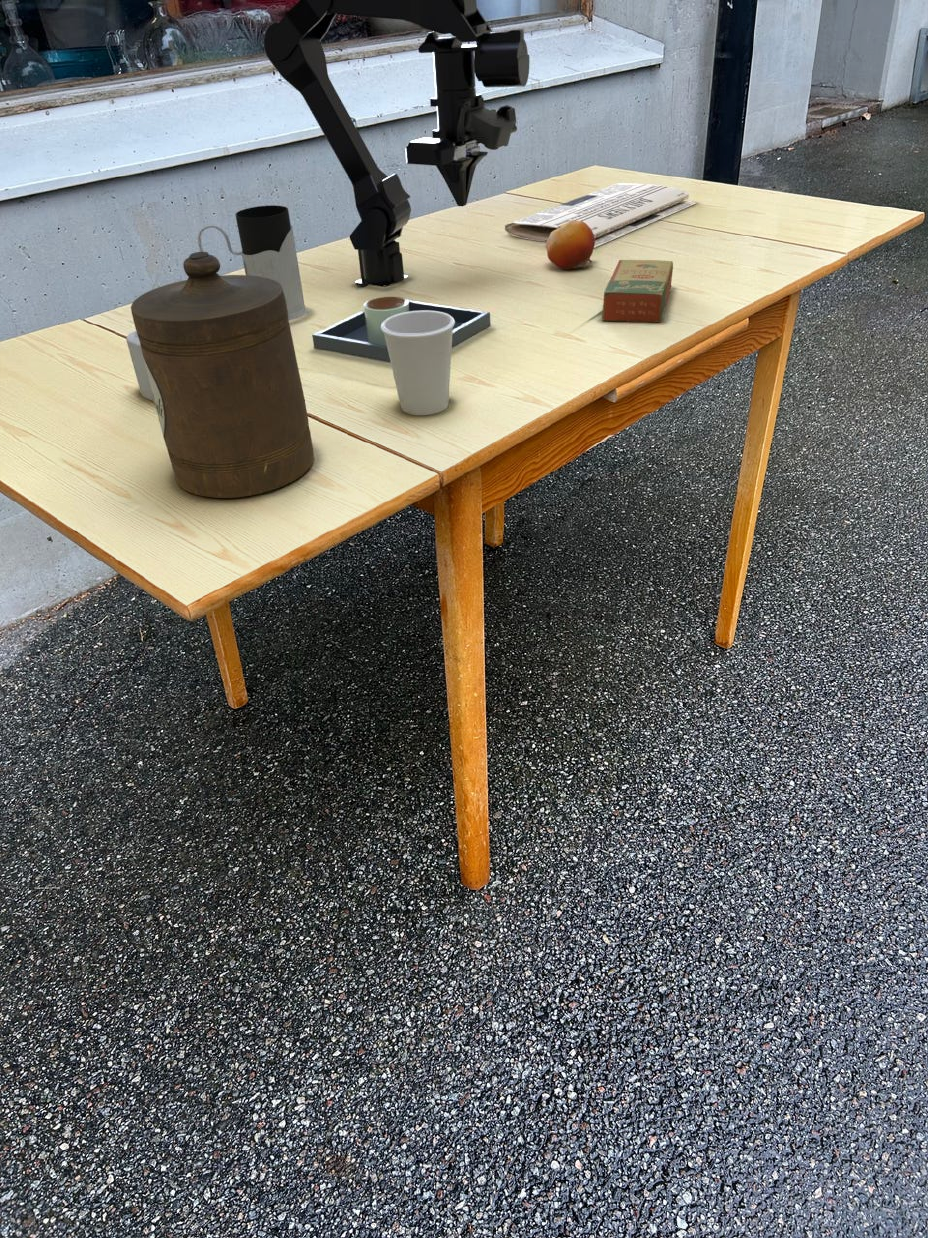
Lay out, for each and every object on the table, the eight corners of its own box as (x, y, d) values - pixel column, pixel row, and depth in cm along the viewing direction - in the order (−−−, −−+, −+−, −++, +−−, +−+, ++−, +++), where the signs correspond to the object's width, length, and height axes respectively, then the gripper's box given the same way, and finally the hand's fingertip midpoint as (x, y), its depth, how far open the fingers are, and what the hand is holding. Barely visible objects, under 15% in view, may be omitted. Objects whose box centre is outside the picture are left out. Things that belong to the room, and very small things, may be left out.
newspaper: (612, 194, 194) (612, 180, 193) (696, 203, 184) (697, 188, 182) (505, 235, 172) (504, 219, 170) (593, 248, 162) (593, 231, 160)
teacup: (359, 347, 126) (354, 306, 123) (386, 333, 130) (381, 293, 127) (400, 354, 123) (395, 312, 120) (425, 339, 127) (422, 299, 124)
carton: (672, 288, 141) (674, 259, 138) (661, 323, 129) (663, 292, 126) (617, 286, 143) (618, 257, 140) (601, 321, 131) (602, 290, 128)
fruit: (603, 263, 149) (578, 218, 146) (561, 288, 152) (536, 245, 149) (607, 249, 155) (583, 205, 152) (567, 274, 159) (542, 232, 156)
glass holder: (307, 323, 137) (289, 215, 129) (211, 331, 137) (187, 224, 128) (310, 305, 144) (294, 202, 136) (219, 312, 144) (197, 209, 135)
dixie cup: (404, 425, 106) (395, 339, 100) (380, 400, 112) (370, 318, 106) (471, 410, 108) (466, 325, 102) (443, 386, 115) (437, 305, 109)
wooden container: (218, 432, 107) (171, 232, 94) (335, 441, 103) (304, 234, 90) (147, 493, 96) (84, 275, 83) (277, 506, 92) (231, 279, 79)
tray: (314, 351, 127) (311, 334, 126) (391, 313, 139) (389, 297, 138) (418, 371, 119) (416, 353, 118) (491, 329, 131) (490, 312, 129)
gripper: (465, 99, 122) (471, 224, 131) (538, 80, 134) (539, 196, 143) (398, 97, 127) (408, 218, 136) (474, 79, 139) (479, 191, 149)
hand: (462, 205), depth 141 cm, fingers closed
